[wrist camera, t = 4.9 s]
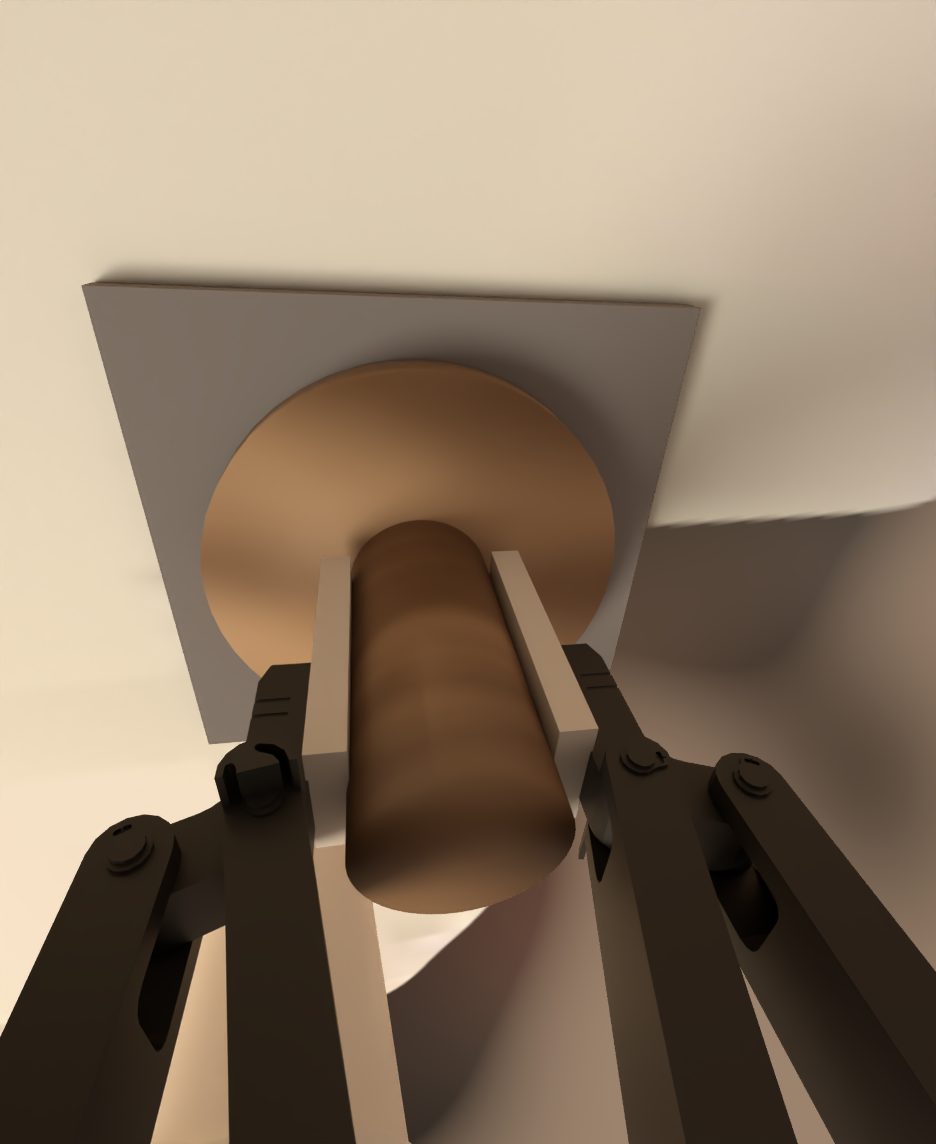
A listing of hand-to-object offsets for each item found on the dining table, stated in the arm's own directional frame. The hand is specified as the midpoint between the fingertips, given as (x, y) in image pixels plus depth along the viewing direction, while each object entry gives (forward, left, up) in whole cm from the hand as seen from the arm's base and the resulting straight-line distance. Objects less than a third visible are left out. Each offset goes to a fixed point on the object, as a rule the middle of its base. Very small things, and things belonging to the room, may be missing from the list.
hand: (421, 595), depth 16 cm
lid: (0, 0, -2) cm, 2 cm away
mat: (0, 0, -3) cm, 3 cm away
